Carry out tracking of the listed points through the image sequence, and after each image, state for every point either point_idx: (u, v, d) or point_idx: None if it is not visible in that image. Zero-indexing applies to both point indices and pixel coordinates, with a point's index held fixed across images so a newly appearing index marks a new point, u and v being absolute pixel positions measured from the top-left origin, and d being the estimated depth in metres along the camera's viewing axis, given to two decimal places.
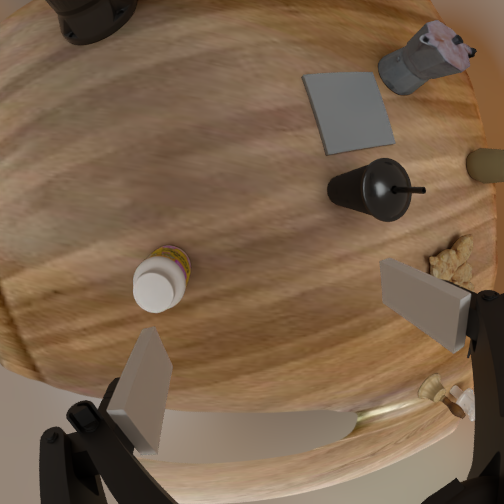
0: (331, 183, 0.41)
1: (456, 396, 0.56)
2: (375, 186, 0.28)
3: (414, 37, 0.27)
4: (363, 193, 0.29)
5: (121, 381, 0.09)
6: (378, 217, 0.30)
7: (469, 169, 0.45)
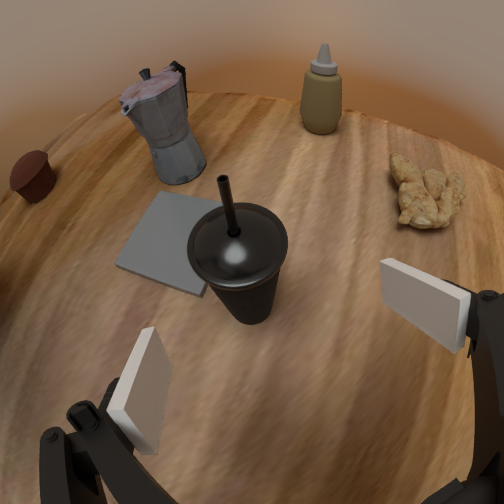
0: None
1: None
2: (211, 259, 0.19)
3: (133, 122, 0.34)
4: (213, 283, 0.19)
5: (121, 381, 0.09)
6: (262, 277, 0.19)
7: (320, 131, 0.48)
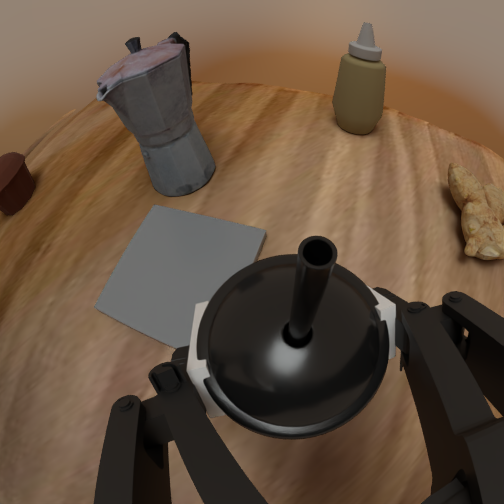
0: None
1: None
2: (252, 390, 0.09)
3: (116, 112, 0.24)
4: (254, 430, 0.08)
5: (192, 345, 0.11)
6: (349, 416, 0.08)
7: (357, 131, 0.37)
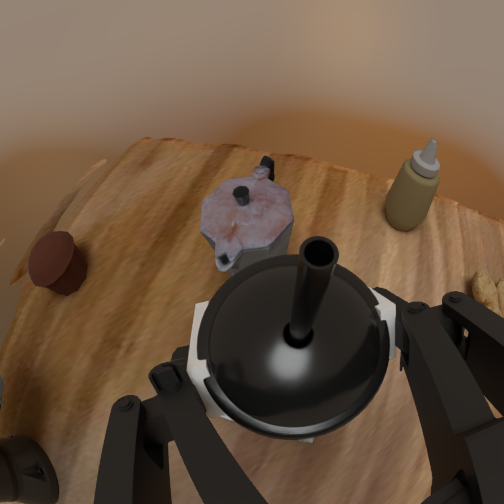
0: None
1: None
2: (252, 390, 0.09)
3: None
4: (254, 430, 0.08)
5: (193, 345, 0.11)
6: (350, 417, 0.08)
7: (404, 229, 0.43)
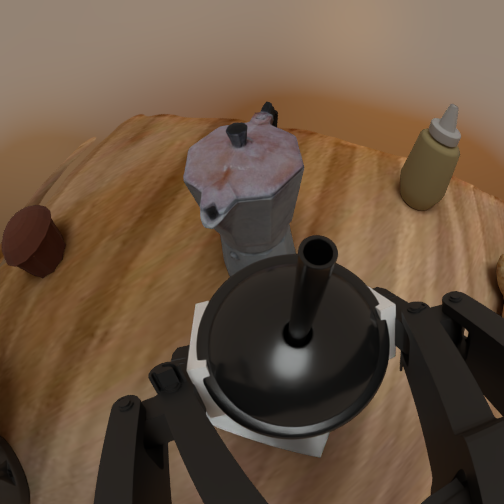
0: None
1: None
2: (252, 390, 0.09)
3: None
4: (254, 430, 0.08)
5: (193, 345, 0.11)
6: (349, 416, 0.08)
7: (421, 208, 0.37)
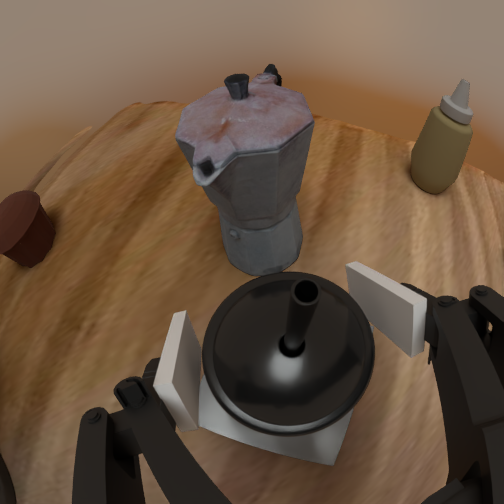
0: None
1: None
2: (251, 393, 0.10)
3: None
4: (253, 428, 0.10)
5: (163, 359, 0.10)
6: (337, 417, 0.09)
7: (434, 191, 0.33)
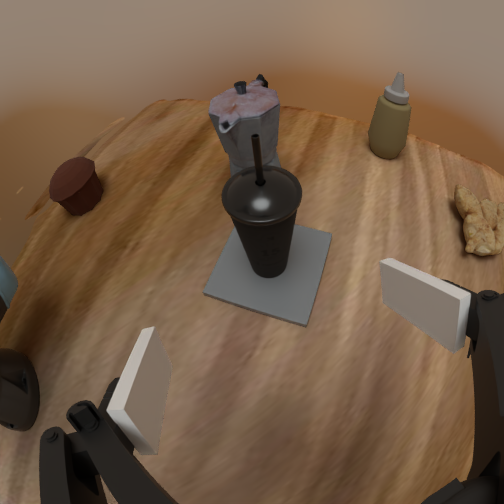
0: None
1: None
2: (243, 201, 0.24)
3: (221, 138, 0.35)
4: (243, 219, 0.24)
5: (121, 381, 0.09)
6: (282, 215, 0.24)
7: (387, 156, 0.47)
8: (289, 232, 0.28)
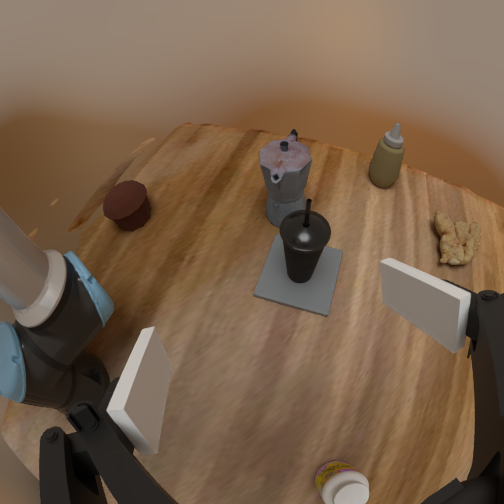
0: (289, 275, 0.50)
1: None
2: (296, 237, 0.39)
3: (266, 181, 0.49)
4: (297, 249, 0.39)
5: (121, 381, 0.09)
6: (320, 246, 0.39)
7: (383, 186, 0.62)
8: (320, 254, 0.43)
